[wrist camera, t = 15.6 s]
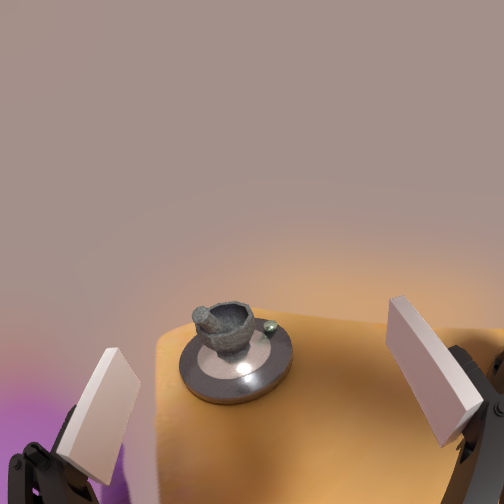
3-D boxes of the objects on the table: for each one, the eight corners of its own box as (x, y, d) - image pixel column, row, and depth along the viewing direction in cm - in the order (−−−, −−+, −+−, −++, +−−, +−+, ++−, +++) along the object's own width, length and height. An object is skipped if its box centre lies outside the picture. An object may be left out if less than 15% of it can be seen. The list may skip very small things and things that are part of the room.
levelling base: (285, 323, 56) (282, 305, 54) (303, 397, 37) (300, 380, 35) (192, 339, 56) (186, 322, 55) (178, 413, 38) (167, 397, 36)
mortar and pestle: (221, 329, 52) (204, 275, 48) (267, 332, 48) (254, 275, 44) (193, 369, 43) (168, 312, 38) (244, 378, 39) (224, 318, 34)
